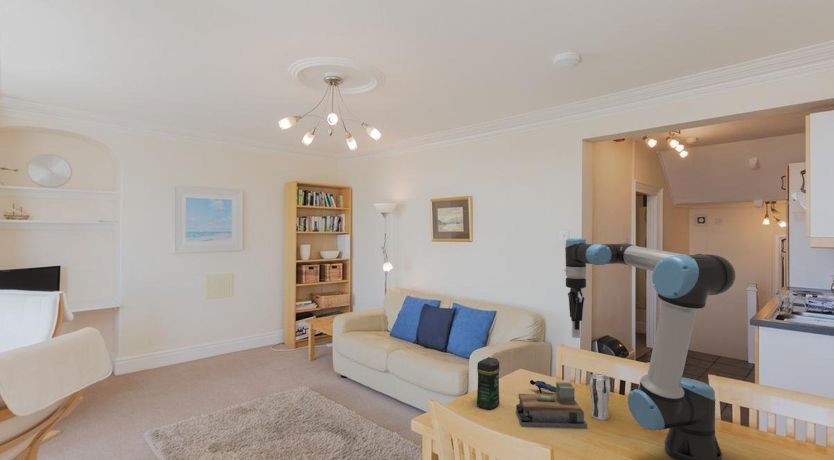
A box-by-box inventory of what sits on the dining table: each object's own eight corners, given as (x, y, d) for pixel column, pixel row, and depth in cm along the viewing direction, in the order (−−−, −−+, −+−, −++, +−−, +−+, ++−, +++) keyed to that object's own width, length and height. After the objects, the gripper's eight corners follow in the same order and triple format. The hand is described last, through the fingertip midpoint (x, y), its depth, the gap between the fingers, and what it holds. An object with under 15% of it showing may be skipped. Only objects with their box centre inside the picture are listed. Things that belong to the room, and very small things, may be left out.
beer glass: (589, 418, 158) (589, 378, 158) (590, 411, 164) (590, 372, 164) (609, 422, 154) (609, 381, 154) (610, 414, 161) (610, 375, 160)
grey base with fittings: (587, 428, 149) (587, 413, 149) (521, 426, 151) (521, 411, 151) (576, 413, 162) (576, 399, 162) (515, 411, 163) (515, 397, 163)
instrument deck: (581, 412, 150) (581, 391, 150) (524, 410, 151) (524, 390, 151) (571, 399, 162) (571, 379, 162) (518, 397, 163) (518, 378, 163)
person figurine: (573, 398, 181) (532, 384, 190) (575, 388, 180) (534, 375, 190) (567, 407, 171) (525, 392, 181) (569, 397, 171) (526, 382, 181)
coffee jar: (492, 411, 164) (492, 364, 164) (474, 406, 168) (474, 360, 168) (502, 403, 172) (502, 357, 172) (484, 398, 176) (484, 354, 176)
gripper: (561, 275, 172) (561, 333, 172) (570, 279, 159) (571, 341, 159) (580, 275, 172) (580, 333, 172) (591, 279, 159) (591, 341, 159)
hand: (575, 337), depth 166 cm, fingers closed
